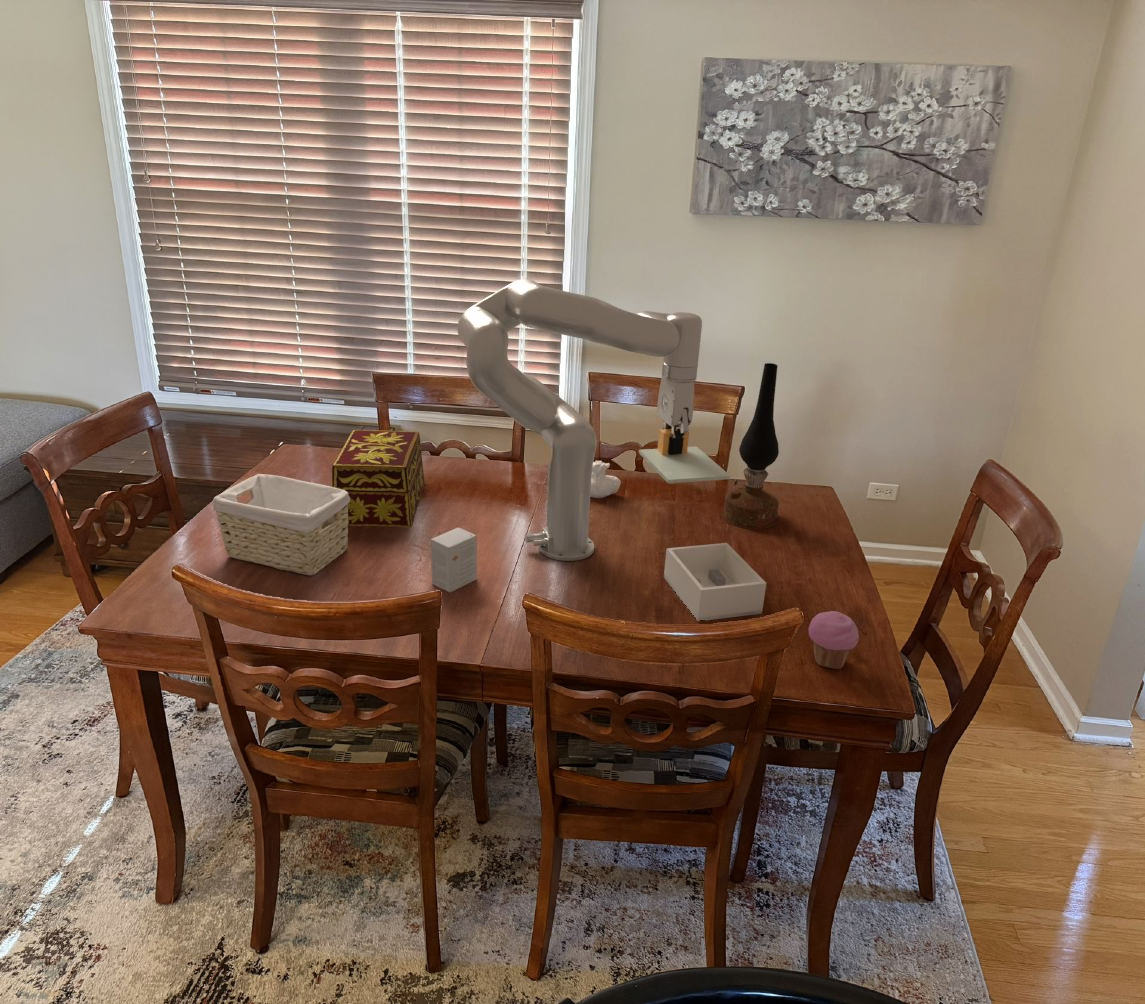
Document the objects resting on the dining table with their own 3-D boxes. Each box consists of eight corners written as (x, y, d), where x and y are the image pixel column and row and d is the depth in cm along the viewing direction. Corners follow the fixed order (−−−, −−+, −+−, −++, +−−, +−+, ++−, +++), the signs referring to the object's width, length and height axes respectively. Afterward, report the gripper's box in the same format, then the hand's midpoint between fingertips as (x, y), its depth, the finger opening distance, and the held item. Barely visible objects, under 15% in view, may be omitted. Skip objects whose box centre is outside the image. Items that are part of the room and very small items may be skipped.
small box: (459, 570, 179) (458, 526, 175) (477, 579, 176) (477, 534, 172) (430, 584, 173) (429, 538, 169) (449, 593, 170) (448, 547, 166)
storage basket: (356, 549, 186) (352, 488, 180) (313, 582, 172) (307, 517, 166) (266, 530, 193) (259, 470, 187) (217, 560, 179) (208, 497, 173)
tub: (761, 613, 168) (766, 583, 165) (697, 621, 164) (701, 590, 162) (723, 571, 184) (726, 542, 181) (663, 577, 180) (666, 548, 177)
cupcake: (855, 679, 149) (865, 631, 145) (805, 672, 150) (814, 625, 146) (849, 651, 157) (858, 605, 153) (801, 645, 158) (810, 599, 154)
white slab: (729, 482, 178) (733, 453, 175) (667, 486, 174) (670, 457, 172) (695, 452, 194) (698, 425, 191) (638, 456, 190) (640, 428, 187)
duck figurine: (573, 501, 221) (572, 480, 211) (576, 476, 224) (575, 454, 214) (619, 505, 220) (620, 484, 210) (621, 480, 223) (622, 458, 213)
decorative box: (411, 528, 197) (409, 468, 191) (331, 526, 196) (326, 467, 190) (425, 483, 223) (423, 429, 217) (354, 481, 221) (350, 427, 215)
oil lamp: (783, 530, 213) (840, 380, 199) (753, 539, 201) (812, 379, 187) (737, 507, 220) (789, 361, 207) (707, 514, 209) (760, 360, 195)
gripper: (650, 362, 188) (643, 439, 195) (677, 382, 173) (669, 465, 181) (681, 361, 190) (673, 438, 197) (711, 381, 175) (701, 463, 183)
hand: (671, 450), depth 189 cm, fingers closed on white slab, 3 cm apart
